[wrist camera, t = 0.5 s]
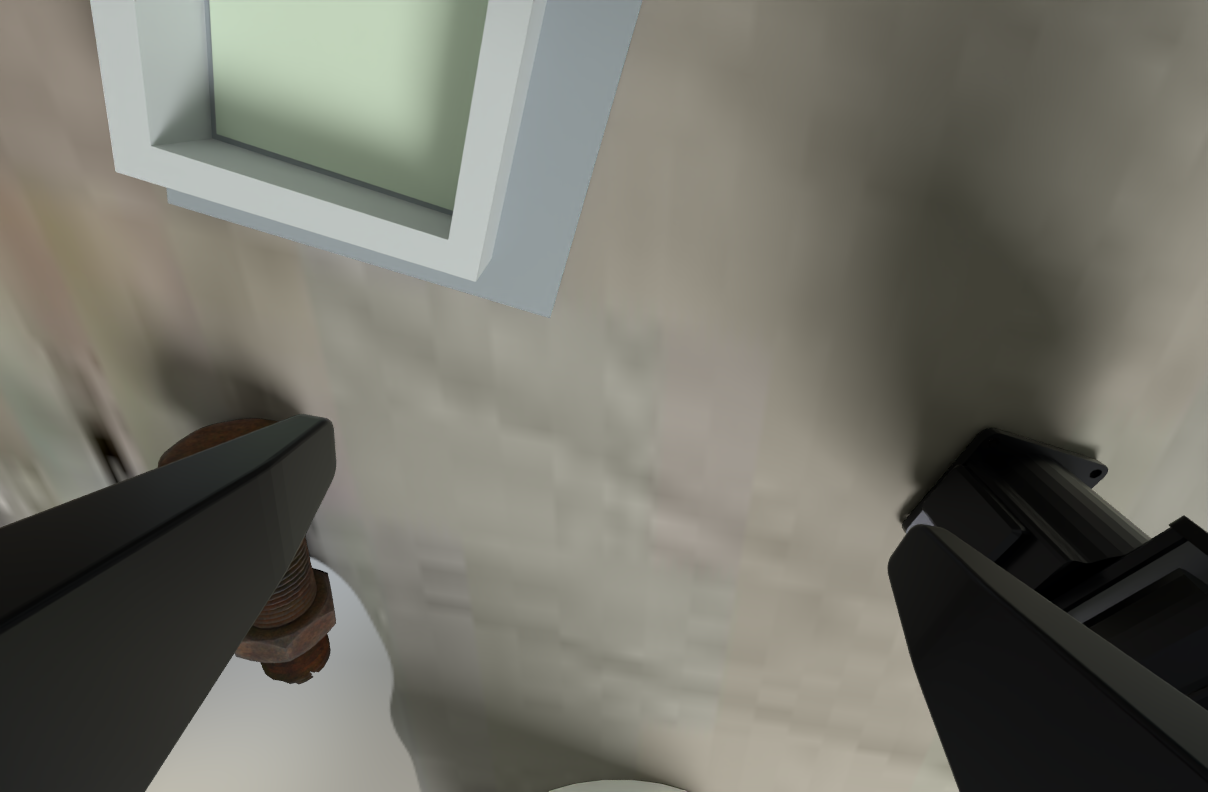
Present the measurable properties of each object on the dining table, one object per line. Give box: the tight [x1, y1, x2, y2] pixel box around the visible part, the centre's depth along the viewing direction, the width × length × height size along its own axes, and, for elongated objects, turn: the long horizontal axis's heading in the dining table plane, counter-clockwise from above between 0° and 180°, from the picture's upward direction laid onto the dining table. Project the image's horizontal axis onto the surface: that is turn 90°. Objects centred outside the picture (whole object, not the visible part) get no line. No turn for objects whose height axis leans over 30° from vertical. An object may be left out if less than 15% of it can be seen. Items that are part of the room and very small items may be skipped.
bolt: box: [158, 418, 336, 684], centre depth 25 cm, size 6×5×15 cm
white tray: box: [90, 0, 642, 318], centre depth 14 cm, size 13×12×4 cm
